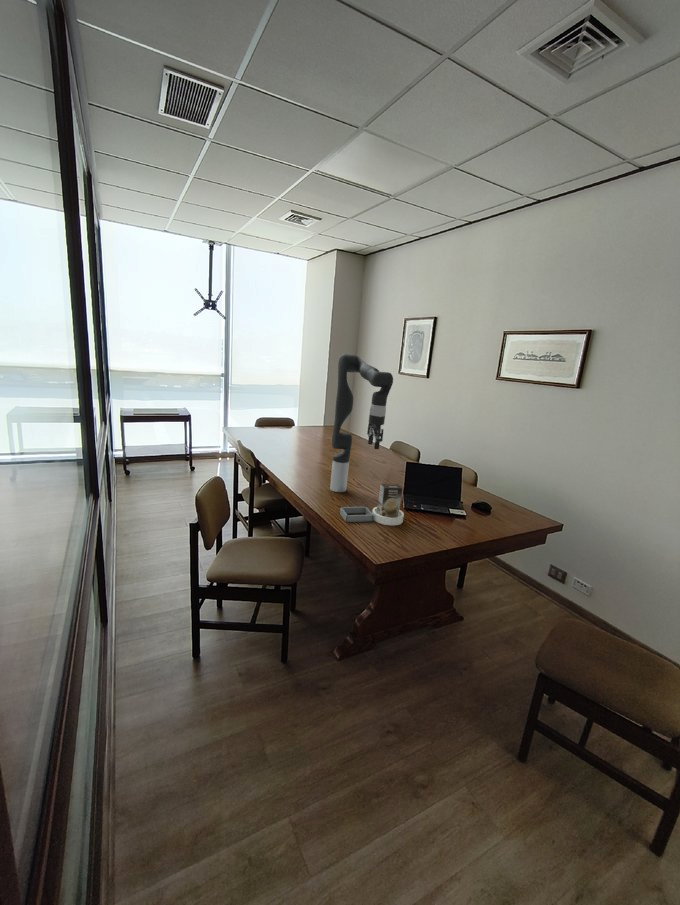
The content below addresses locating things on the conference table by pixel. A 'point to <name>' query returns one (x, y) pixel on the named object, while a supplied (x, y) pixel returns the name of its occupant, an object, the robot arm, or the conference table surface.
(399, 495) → the coffee box
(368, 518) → the grey rectangular frame
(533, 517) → the conference table surface
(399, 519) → the bowl
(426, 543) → the conference table surface
